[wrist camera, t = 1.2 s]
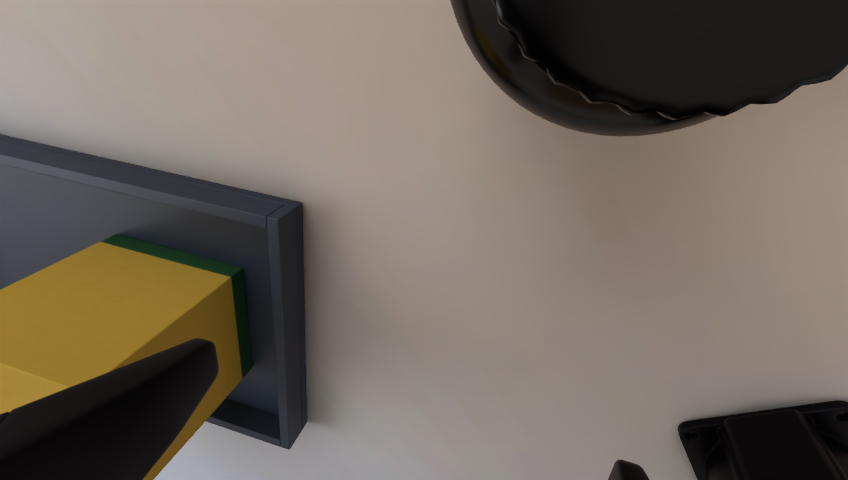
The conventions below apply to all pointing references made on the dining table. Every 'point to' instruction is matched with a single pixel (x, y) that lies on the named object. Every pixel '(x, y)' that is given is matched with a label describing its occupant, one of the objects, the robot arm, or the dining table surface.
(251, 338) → the tray
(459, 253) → the dining table surface
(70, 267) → the sponge
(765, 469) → the robot arm
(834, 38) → the supplement bottle
